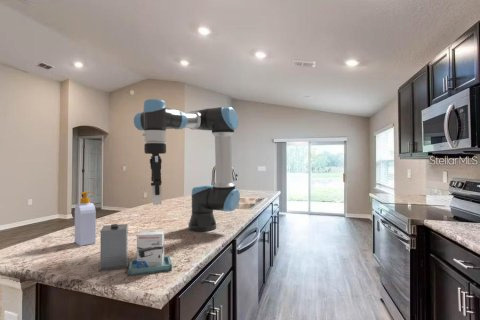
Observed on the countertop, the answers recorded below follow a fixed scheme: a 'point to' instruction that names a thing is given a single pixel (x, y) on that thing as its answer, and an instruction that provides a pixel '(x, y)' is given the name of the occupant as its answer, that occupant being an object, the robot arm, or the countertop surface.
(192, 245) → the countertop surface
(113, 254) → the unit
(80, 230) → the soap bottle
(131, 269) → the tray
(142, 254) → the ink box
